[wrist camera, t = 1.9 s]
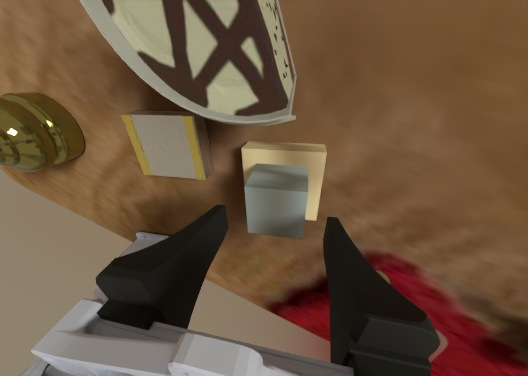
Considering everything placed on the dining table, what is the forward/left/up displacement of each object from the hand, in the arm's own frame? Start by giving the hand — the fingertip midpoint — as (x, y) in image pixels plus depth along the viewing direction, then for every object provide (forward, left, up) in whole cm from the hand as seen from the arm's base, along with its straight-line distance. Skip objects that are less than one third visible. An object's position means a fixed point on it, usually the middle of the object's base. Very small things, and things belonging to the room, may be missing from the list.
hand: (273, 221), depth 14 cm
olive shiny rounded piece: (-26, +4, -7) cm, 27 cm away
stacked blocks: (0, 0, -7) cm, 7 cm away
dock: (-11, +3, -7) cm, 13 cm away
